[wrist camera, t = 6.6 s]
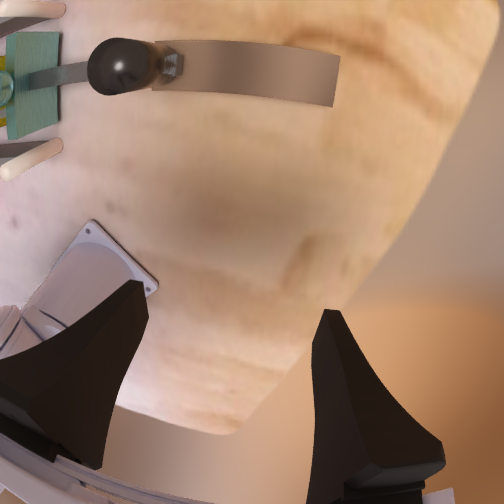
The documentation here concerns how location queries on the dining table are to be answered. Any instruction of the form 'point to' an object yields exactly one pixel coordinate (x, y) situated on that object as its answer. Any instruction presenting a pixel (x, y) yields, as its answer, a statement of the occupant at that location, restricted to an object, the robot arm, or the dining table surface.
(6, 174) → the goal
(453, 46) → the dining table surface
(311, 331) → the dining table surface
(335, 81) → the guide
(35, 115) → the slider rail assembly
